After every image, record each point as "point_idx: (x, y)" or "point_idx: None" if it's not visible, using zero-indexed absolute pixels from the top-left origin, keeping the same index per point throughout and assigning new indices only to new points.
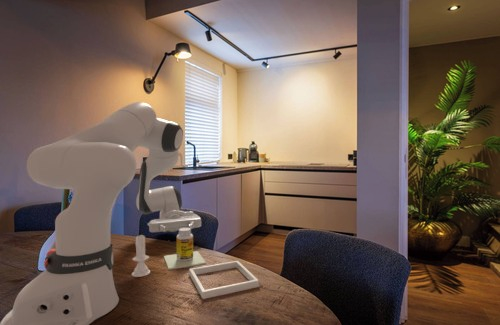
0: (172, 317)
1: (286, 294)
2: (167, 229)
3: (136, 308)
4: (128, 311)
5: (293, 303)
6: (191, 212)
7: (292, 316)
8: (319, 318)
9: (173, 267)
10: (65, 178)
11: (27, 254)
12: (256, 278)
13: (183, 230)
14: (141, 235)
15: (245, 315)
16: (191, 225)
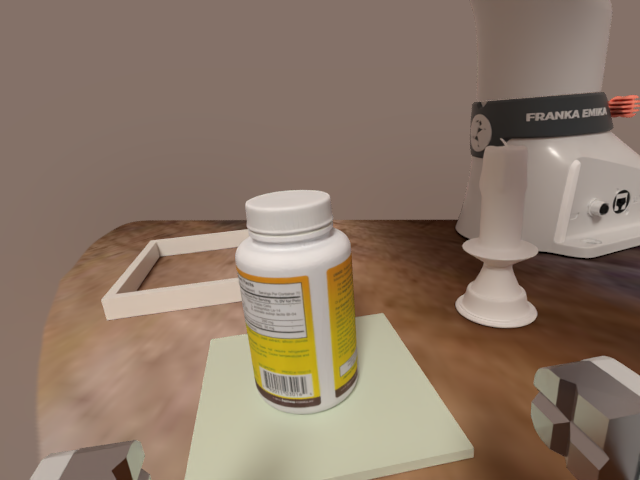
0: (341, 222)
1: (129, 243)
2: (539, 391)
3: (411, 230)
4: (422, 227)
5: (143, 233)
6: None
7: (173, 222)
8: (144, 221)
9: (363, 317)
10: None
11: None
12: (148, 244)
13: (299, 190)
14: (510, 149)
15: (232, 223)
16: (91, 450)
